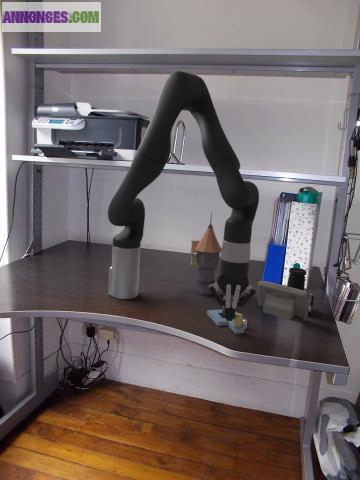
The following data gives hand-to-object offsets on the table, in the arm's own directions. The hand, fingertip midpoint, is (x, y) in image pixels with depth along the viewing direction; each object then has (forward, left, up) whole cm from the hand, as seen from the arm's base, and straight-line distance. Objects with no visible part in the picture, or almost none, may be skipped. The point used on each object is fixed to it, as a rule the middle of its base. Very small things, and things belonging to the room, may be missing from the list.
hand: (229, 319), depth 100 cm
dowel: (+4, +4, -3) cm, 6 cm away
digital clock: (+11, +22, -5) cm, 25 cm away
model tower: (-16, +25, -5) cm, 30 cm away
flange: (-1, +5, -3) cm, 6 cm away
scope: (+15, +30, -5) cm, 34 cm away
